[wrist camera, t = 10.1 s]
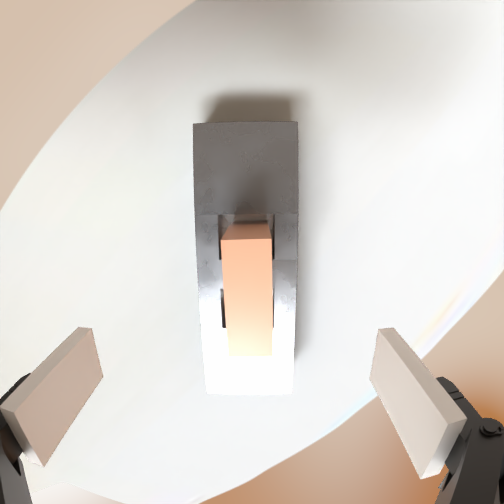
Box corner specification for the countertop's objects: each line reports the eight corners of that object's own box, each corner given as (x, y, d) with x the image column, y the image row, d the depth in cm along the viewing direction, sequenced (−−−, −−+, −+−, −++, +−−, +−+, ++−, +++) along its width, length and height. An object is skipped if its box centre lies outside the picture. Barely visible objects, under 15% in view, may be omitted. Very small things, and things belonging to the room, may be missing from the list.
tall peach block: (236, 306, 30) (228, 357, 21) (232, 220, 28) (220, 240, 19) (269, 305, 30) (273, 356, 21) (267, 219, 28) (271, 238, 19)
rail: (212, 370, 33) (207, 393, 29) (201, 130, 27) (193, 123, 23) (288, 370, 32) (291, 393, 29) (292, 129, 27) (297, 121, 23)
